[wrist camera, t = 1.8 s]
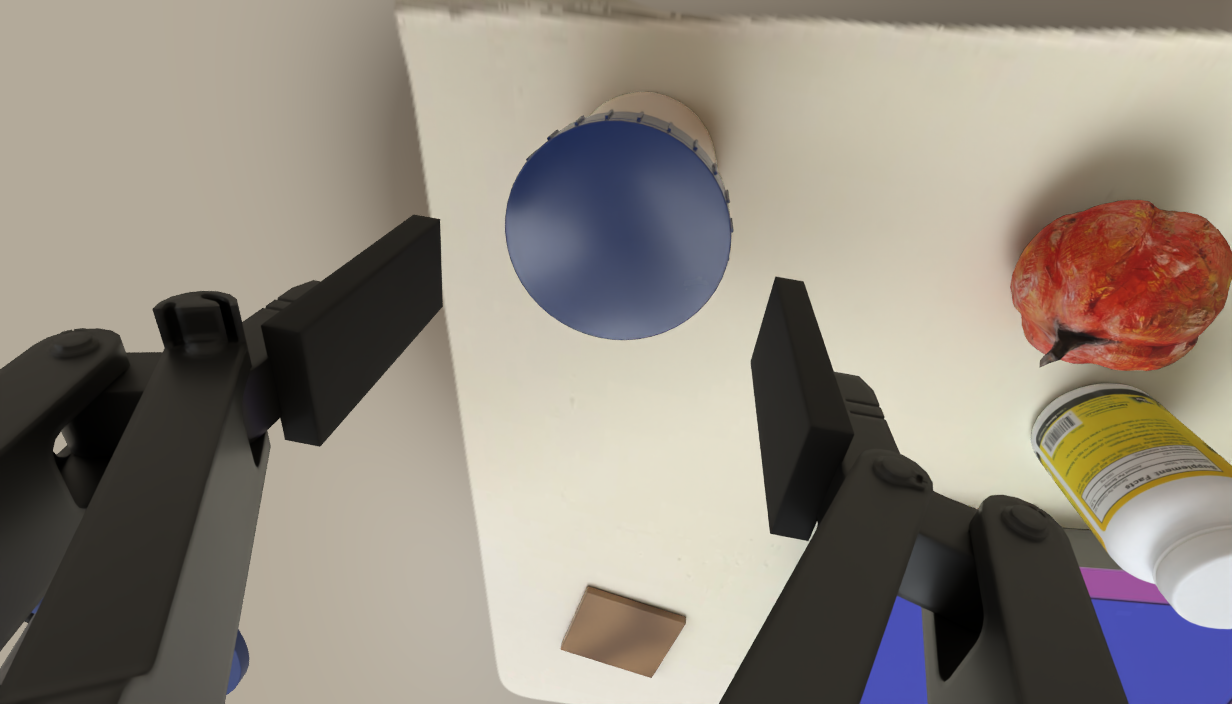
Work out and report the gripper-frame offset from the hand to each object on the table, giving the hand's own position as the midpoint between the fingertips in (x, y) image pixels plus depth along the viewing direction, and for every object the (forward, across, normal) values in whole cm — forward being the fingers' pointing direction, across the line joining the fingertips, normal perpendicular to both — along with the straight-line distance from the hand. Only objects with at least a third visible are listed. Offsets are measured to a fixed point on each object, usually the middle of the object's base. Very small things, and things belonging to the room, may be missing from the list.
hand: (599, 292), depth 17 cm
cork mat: (+14, +4, -36) cm, 39 cm away
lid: (+5, 0, 0) cm, 5 cm away
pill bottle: (+15, +26, -10) cm, 32 cm away
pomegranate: (+15, +21, -1) cm, 26 cm away
